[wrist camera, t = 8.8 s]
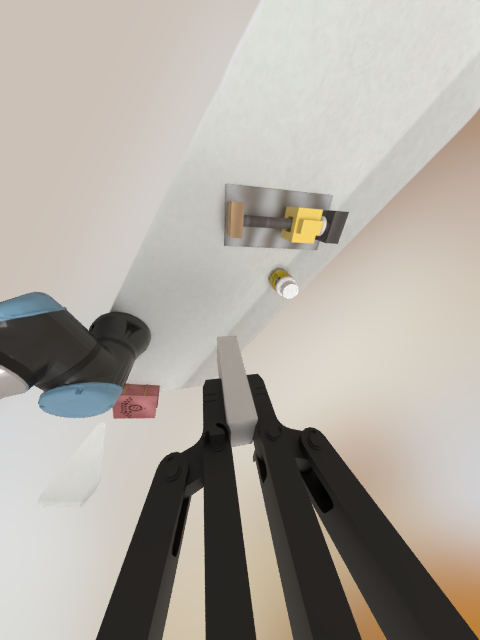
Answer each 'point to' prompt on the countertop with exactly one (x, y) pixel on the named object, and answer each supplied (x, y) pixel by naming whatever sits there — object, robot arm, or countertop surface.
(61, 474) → the countertop surface
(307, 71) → the countertop surface
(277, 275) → the supplement bottle
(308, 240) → the sleeve
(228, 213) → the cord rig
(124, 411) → the book
